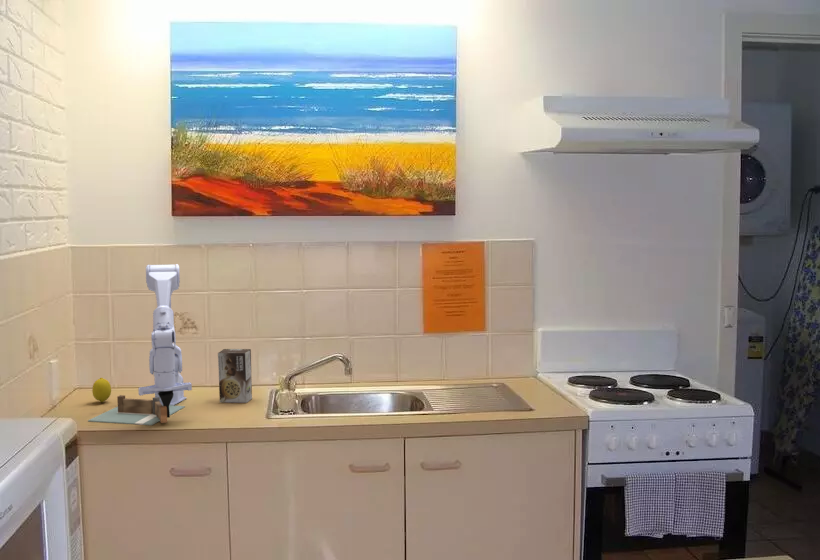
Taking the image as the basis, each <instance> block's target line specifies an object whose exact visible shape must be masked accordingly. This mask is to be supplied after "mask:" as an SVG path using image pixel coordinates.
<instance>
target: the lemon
mask: <svg viewBox="0 0 820 560" xmlns="http://www.w3.org/2000/svg"><path fill="white" fill-rule="evenodd" d="M91 392H92V396H93V398H94V399H95V400H97V401H99V402H100V403H105V401H106V400H108V399H109V398H110V397H111V394H112V385H111V382H109V381H108V380H107V379H106V378H103V377H100V378H98V379H96V380H95V381H94V382H93V385H92V390H91Z"/></svg>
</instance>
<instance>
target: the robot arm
mask: <svg viewBox="0 0 820 560" xmlns="http://www.w3.org/2000/svg"><path fill="white" fill-rule="evenodd" d="M180 279H181V278H180V265H179V264H178V263H176V264H147V265H146V266H145V281H146V282H145V283H146V285H147V288H148V290H149V291H152V292H154V293H155V298H156V308H155V309H154V310H153V312H152V331H151V337H150V338H151V340H150V341H151V349H150V350H149V359H148V361H149V364H148V365H149V366H148V367H149V373H150V375H153V378H154V384H152V385H147V386H140V387H138V390H137V391H138V395H139V396H144V395H153V394H154V397H159V398H160V403H161V404H162V405H163V406H166V407H167V419H169V418H170V416H171V415H170V412H169V405H174V406H176V405H177V404H179V403H181V402H182V401H185V400H186V399H187V396H185V395H184V393H185V391H192V390H193V389H192V387H193V386H192V385H193V384H192V383H191V382H189V381H188V382H184V377H183V376H182V374H181V372H183V354H182V348H181V347H179V346H178V345H177V344H176V342H177V340H176V339H177V337H176V336H177V335H176V329H175V322H174V321H175V317H174V310H173V309H172V295H173V292H175V291H177V290H179V287H180V283H181V280H180Z"/></svg>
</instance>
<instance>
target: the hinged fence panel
mask: <svg viewBox="0 0 820 560" xmlns="http://www.w3.org/2000/svg"><path fill="white" fill-rule="evenodd" d="M155 414H156V415H157V417H158V418H159V419H160V421H159V422H160V423H161V424H164V423H168V418H167V407H166V406H162V404H161V403H160V402H159V401H158V402H155Z"/></svg>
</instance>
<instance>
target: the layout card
mask: <svg viewBox="0 0 820 560" xmlns="http://www.w3.org/2000/svg"><path fill="white" fill-rule="evenodd" d="M162 406H163V405H162ZM184 408H186V406H185V405H169V412H170V416H171V415H173V414H175V413H177V412H179V411H181V410H182V409H184ZM87 422H92V423H106V424H107V423H110V424H123V425H124V424H127V425H142V426H144V425H145V426H154V425H155V424H157V423H159V422H160V419H159V418H158V417H157V415H154V414H141V413H124V412H123V413H120V412H118V406H115V407H113V408H111V409H109V410H107V411H105V412H103V413H101V414H98V415H97V416H94V417H92V418H90V419H88V420H87Z"/></svg>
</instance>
